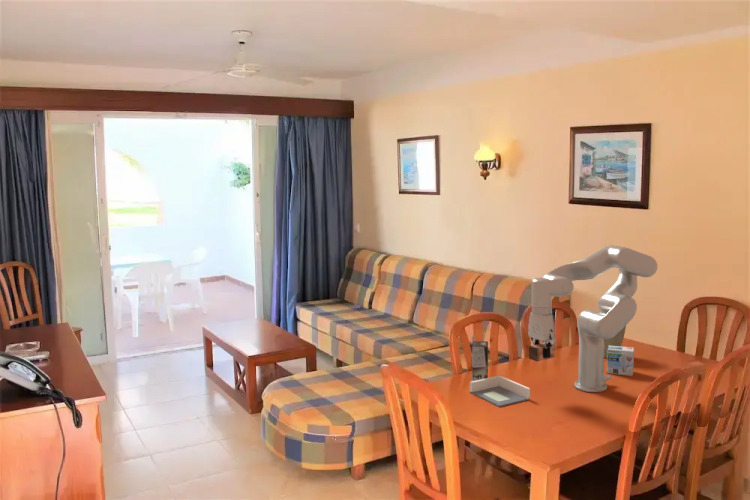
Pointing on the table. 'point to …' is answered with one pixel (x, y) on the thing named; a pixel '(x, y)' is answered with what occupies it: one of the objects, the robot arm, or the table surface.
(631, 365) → the light bulb box
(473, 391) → the corner arena
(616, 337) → the plant pot
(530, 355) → the block
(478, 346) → the coffee box
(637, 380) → the table surface
